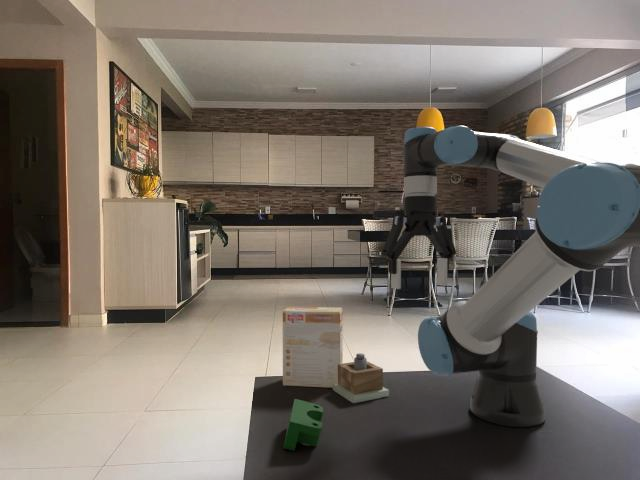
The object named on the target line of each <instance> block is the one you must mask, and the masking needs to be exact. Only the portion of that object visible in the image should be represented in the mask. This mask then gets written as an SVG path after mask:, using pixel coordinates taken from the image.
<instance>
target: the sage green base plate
mask: <svg viewBox="0 0 640 480" xmlns="http://www.w3.org/2000/svg"><path fill="white" fill-rule="evenodd" d="M353 359H354V361H353V362H354V370H356V371H358V370H364V369H367V361H368V360H367V357H365V354H364V353H356V356H355V357H354V358H353ZM332 390H333V391H334V392H335V393H336V394H339V395H340V396H341V397H342V398H344V399H346V400H347V401H348V402H349V401H350V403H352V404H357V403H361V402H366V401H372V400H377V399H378V400H379V399H383V398H388V397H390V389H388V388H387V387H384V386H383V389H381V390H376V391H371V392H365V393H360V394H353V393H351V392H349V391H348V390H346V389H345V388H343V387H341V386H340V385H338V383H335V384H333V388H332ZM382 397H383V398H382Z"/></svg>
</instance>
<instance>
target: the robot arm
mask: <svg viewBox="0 0 640 480" xmlns="http://www.w3.org/2000/svg"><path fill="white" fill-rule="evenodd" d="M447 166H454V167H455V166H457V167H470V168H471V167H474V168H487V169H492V170H494V171H498V172H499V173H503V174H506V175H508V176H511V177H514V178H515V179H519V180H521V181H524V182H525V183H526V182H527V183H529V184H532V185H533V186H534V185H535V186H536V187H539V188H542V190H541V193H540V194H539V197H538V201H539V202H540V203H539V205H537V207H536V217H535V219H534V222H533V226H534V231H535V232H534V233H533V234H532V235H531V236H530V237H529V238H527V240H526V241H525V242H524V243H523V244H521V246H520V247H519V248H518V249H517V250H516V251H515V252H514V253H513V254H512V255H511V256H510V257H509V258H508V259H507V260H506V261H505V262H504V263H503V264H502V265H501V267H499V268H498V269H497V270H496V271H495V272H494V273H493V274H492V275H491V276H490V277H489V278H488V279H487V281H486V282H484V284H483V285H481V287H480V288H479V289H477V290H476V291H475V293H474V294H473V295H472V296H471V297H470V298H469V299H468V300H460V301H459V300H458V301H457V302H455V303H453V304H452V305H450V307H449V308H448V309H447V310H446V311H445V312H444V313H443V314H442V315H440V316H436V317H435V316H430V317H427V318H424V319H423V320H422V321H421V322H420V324H419V326H418V331H417V343H418V349H419V350H418V351H419V354H420V357H421V359H422V362H423V363H424V365H425V366H426V368H427V370H429V371H430V372H431V373H432V374H434V375H435V376H450V377H451V376H452V375H457V374H464V373H472V372H473V373H474V372H478V375H477V379H476V382H475V385H474V387H473V392H472V394H471V396H470V405H469V406H470V407H469V409H470V412H471V413H472V414H473V415H474V416H475V417H477V418H479V419H481V420H483V421H485V422H489V423H491V424H494V425H495V424H496V425H499V426H506V427H513V428H528V427H529V428H530V427H535V426H538V425H541V424H542V423H544V422H545V420H546V408H545V405H544V403H543V401H542V397H541V393H540V390H539V387H538V382H537V364H538V363H537V356H538V355H537V353H538V333H539V332H538V328H537V326H538V324H537V317H536V316H535V315H534V314H533V313H532V312H531V311H532V310H533V309H534V308H536V307H537V306H538V305H539V304H541V303H542V302H543V301H544V300H545V299H547V298H548V297H549V296H550V295H552V294H553V293H554V292H555V291H556V290H558V289H559V288H561V286H562V285H563V284H565V283H566V282H567V281H568V280H569V279H571V278H572V277H573V276H575V275H576V274H577V273H578V272H580V271H583V272H592V271H593V272H594V271H596V270H599V269H600V268H601V267H603V266H605V265H606V264H607V263H608V262H609V261H611V260H612V259H613V258H614V257H616V256H617V255H618V254H619V253H621V252H622V251H624V250H625V249H628V248H640V165H637V164H634V163H625V164H617V163H613V162H607V161H605V162H604V161H599V160H595V159H593V158H592V159H591V158H587V157H585V156H581V155H580V156H579V155H576V154H573V153H569V152H566V151H564V150H563V151H562V150H558V149H554V148H551V147H548V146H544V145H540V144H537V143H534V142H530V141H526V140H523V139H521V138H520V137H518V136H517V135H512V134H510V133H509V134H506V133H491V132H481V131H474V130H472V129H471V128H469V126H465V125H461V124H460V125H455V126H454V125H453V126H448V127H446V128H444V129H441V130H438V131H437V129H436V128H434V127H431V126H418V127H412V128H409V129H407V130H406V131H405V132H404V142H403V174H404V175H403V194H404V195H405V196H404V197H403V212H404V216H403V215H395V216H393V218H392V223H391V224H392V225H391V228H390V231H389V233H388V236H387V238H386V240H385V242H384V245H383V247H382V250H381V252H380V256H381V257H383V258H385V259H386V260H388V273H389V275H390V288H391V289H396V290H401V288H402V280H401V279H402V259H399V257H400V256H401V254H402V253H403V251H404V250H405V249H406V247H407V246H408V244H409V243H410V241H411V240H412V238H414V237H415V236H418V237H420V236H424V237H426V238H427V239H428V240H429V242H430V243H431V245H432V246H433V247H434V249H435V251H436V252H437V253H438V255H439V256H440V257H437V259H436V260H437V263H436V284H437V285H438V286H444V287H446V286H448V272H449V270H450V259H453V256H455V255H456V254H457V250H456V248H455V245H454V242H453V240H452V237H451V234H450V232H449V229H448V226H447V225H448V224H447V217H445V216H436V212H437V210H438V209H437V208H438V207H437V203H438V202H437V196H435V195H436V194H438V174H437V172H438V168H440V167H447ZM404 225H405V227H404ZM403 227H404V228H403ZM435 227H436V228H435ZM400 235H401V236H400Z"/></svg>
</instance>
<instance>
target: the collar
mask: <svg viewBox="0 0 640 480" xmlns="http://www.w3.org/2000/svg"><path fill="white" fill-rule="evenodd" d="M383 369H384V368H382V367H380V366H378V365H376V364H374V363H371V362H370V361H368V360H367V369H364V370H358V371H356V370H354V361H352V362H344V363H343V364H338V385H340V386H341V387H343V388H345V389H346V390H348V391H349V392H351V393H353V394H360V393H365V392H371V391H376V390H381V389H383V387H384V386H383V385H384V384H383V382H384V370H383Z"/></svg>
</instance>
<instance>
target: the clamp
mask: <svg viewBox="0 0 640 480" xmlns="http://www.w3.org/2000/svg"><path fill="white" fill-rule="evenodd" d="M323 414H324V407H323V406H321V405H319V404H317V403H312V402H309V401H306V400H301V399H297V398H294V400H293V405H292V407H291V412H290V416H289V419H288V423H287V429H286V431H285V436H284V442H283V446H282V447H283V448H282V449H285V450H287V451H288V450H289V451H293V452H295V451H296V448H297V447H296V446H297V443H299V444H304V445H308V446H312V447H317V446H318V442H319V438H320V435H321V434H322V431H323V430H322V429H323V426H324V425H323V421H322V418H323Z"/></svg>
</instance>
